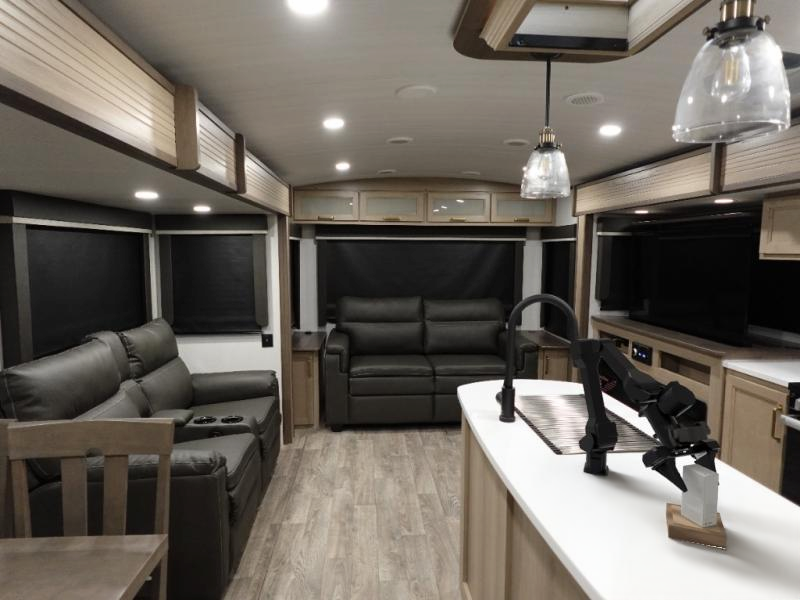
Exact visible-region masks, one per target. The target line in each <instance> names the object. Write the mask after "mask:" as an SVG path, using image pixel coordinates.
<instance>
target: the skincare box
mask: <svg viewBox="0 0 800 600" xmlns="http://www.w3.org/2000/svg"><path fill="white" fill-rule="evenodd" d="M716 472H717V471H716ZM716 472H714V471H711V470H709V469H707V468H705V467H702V466H700V465H698V464H695V463H694V464H693V463H692V464H687V465H683V466H682V479H683V481H684V483H685V485H686V487H687V489H688V491H687V492H685V493H684V492H683V491H681V502H680V503H681V504H680V505H681V515H682V516H684V517H685V518H687V519H689V520H690V521H692V522H694V523H696V524H697V525H699V526H701V527H702V528H704V527H708V526H713V525H716V524H717V512H718V503H719V502H718V501H719V500H718V499H719V486H718V482H719V480H720V474H719V473H718V472H717V473H716ZM719 483H720V482H719Z"/></svg>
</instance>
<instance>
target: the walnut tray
mask: <svg viewBox="0 0 800 600" xmlns="http://www.w3.org/2000/svg"><path fill="white" fill-rule="evenodd" d="M665 506H666V507H665V517H666V526H667V535H668V537H667V538H670V539H675V540H678V541H682V540H683V542H687V541H688V543H692V542H694V543H693V544H696V543H699V544H698V545H701V544H704V545H703V546H706V545H710V546H716V547H722V548H726V549H727V541H728V535H727V533H726V528H725V527H724V526H725V525H724V523H723V519H722V516H721V513H720V512H718V511H717V524H716V525H713V526H708V527H704V528H702V527H701V526H699V525H697V524H696V523H694V522H692V521H690V520H689V519H687V518H685V517H684V516H682V515H681V504H675V503H669V502H666V505H665ZM710 546H709V547H710Z"/></svg>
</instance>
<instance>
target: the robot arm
mask: <svg viewBox="0 0 800 600" xmlns="http://www.w3.org/2000/svg"><path fill="white" fill-rule="evenodd" d="M568 349H569V352H570V355H571V359H572V362H573V363H574V364H575V366H577V367H578V368H579V372H580V377H581V382H582V387H583V388H582V389H583V392H584V393H583V394H584V398H585V399H584V400H585V405H586V409H587V415H588V418H587V422H586V423H585V427H584V432H585V433H584V436H583V437H581V438H580V439H579V440H578V446H579V450H582V451H583V452H585V462H584V465H583V469H582V470H583V472H585V473H590V474H595V475H601V476H608V472H609V466H608V464H607V462H608V460H607V459H608V458H607V457H608V452H613V451H614V450H615V448H616V445H617V443H618V440H619V438H618V437H619V433H618V430H617V423H616V422H615V421H612V420H611V419H610V418H609V417H608V416H607V411H606V407H605V401H604V395H603V390H602V385H601V381H600V379H601V378H600V375H599V370H598V366H599V363H600V361H601V358H602V359H603V360H604V361H605V362H606V364H607V365H608V366H609V367H610V368H611V369H612V370H613V372H614V373H615V374H616V375H617V376H618V378H620V380H621V381H622V384H623V390H624V392H625V393H626V394H627V396H628V398H629V399H630V400H631V401H632V402H633V403H634V404H643V403H645V404H646V403H648V404H647V405H643V406H640V407H639V411H638V414H637V417H638V418H646V420H647V422H648V423H649V425H650V427H651V428H652V430H653V432H654V434H652V438H653V439H654V440H658V441H659V442H660V444H661V445H660V446H654V447H652V448H650V449H649V450H648V451H646V452H645V453H643V454H642V457H641V459H642V460H641V462H642V463H643V465H644V467H645V468H646V469H647V468H650V469H651V471H654V472H656V473H658V474H660V475H661V476H662V477H663V478H665V479H666V480H668V481H669V482H670V483H672V484H673V485H674V486H675V487H676V488H678V489H679V490H680V491H681V492H682V491H683V492H684V493H685V492H687V491H688V489H687V487H686V485H685V483H684V481H683V476H682V475H681V473H680V472H679V471H680V470H679V469H678V468H677V463H676V462H677V459H676V458H682V457H683V458H684V457H687V456H690V457H691V458H693V459H694V461H693V463H694V464H698V465H700V466H702V467H705V468H707V469H709V470H711V471H714V472H716V473H718V472H717V468H716V463H715V462H716V461H715V460H716V456H717V455H719V451H720V450H721V449H722V447H721V446H720V444H719V442H718V440H716V439H714V438H709V437H708V436H710V435H711V431H712V430H711V428H710V426H709V425H708V424H707V423H706V421H705V420H704V421H696V422H694V423H693V426H691V427H690V426H689V427H686V426H685V424H684V423H683V422H679V423H678V421H677V420H676V418H677V417H679V416H680V415H682V414H683V413H684V412H686V411H687V410H688V409H690V408H691V407H692V406H693V405H695V403H696V400H697V399H696V395H695V394H694V392H693V391H692V390H691V389H689V388H688V387H687V386H685V385H683V384H680V382H679V380H673V381H669V382H668V383H667V384H666V386H664V385H661V384H660V382H659V381H658V380H656V379H655V378H654V377H653V376H652V375H650V374H648V373H645V372H644V371H641V370H640V369H639V368H637V366H635V365H634V363H632V361H630V359H628V357H627V356H626V355H625V354H624V352H622V351H621V350H620V348H618V347H617V346H616V344H615V342H614V341H613V339H611V338H608V337H606V338H604V337H603V338H593V337H591V338H580V339H579V338H578V339H577V338H575V339H573V340H572V341H571V343H570V345H569V348H568ZM719 486H720V482H718V487H719Z"/></svg>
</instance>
